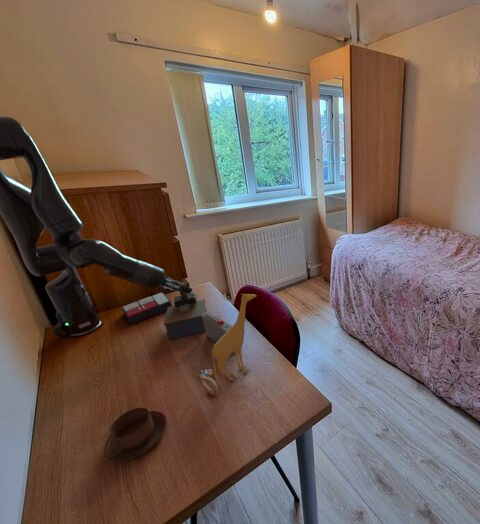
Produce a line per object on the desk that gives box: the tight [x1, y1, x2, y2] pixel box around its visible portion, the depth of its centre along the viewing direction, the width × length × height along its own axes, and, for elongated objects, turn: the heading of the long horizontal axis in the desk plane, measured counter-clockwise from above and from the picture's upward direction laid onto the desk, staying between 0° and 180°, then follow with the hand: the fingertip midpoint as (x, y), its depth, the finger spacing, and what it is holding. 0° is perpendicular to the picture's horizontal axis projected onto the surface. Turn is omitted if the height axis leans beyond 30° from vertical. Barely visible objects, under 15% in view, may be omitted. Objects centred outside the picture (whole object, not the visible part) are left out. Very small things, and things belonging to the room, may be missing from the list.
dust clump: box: [179, 304, 190, 312], centre depth 105 cm, size 3×3×1 cm
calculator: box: [121, 292, 173, 325], centre depth 116 cm, size 11×4×15 cm
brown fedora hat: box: [103, 407, 167, 463], centre depth 66 cm, size 12×12×6 cm
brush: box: [173, 281, 198, 307], centre depth 106 cm, size 4×7×8 cm, turn 115°
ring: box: [196, 368, 221, 396], centre depth 78 cm, size 7×3×8 cm, turn 60°
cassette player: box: [201, 310, 235, 355], centre depth 97 cm, size 16×3×10 cm, turn 53°
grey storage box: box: [163, 299, 208, 340], centre depth 106 cm, size 13×12×7 cm
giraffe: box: [211, 293, 257, 382], centre depth 82 cm, size 16×4×25 cm, turn 141°
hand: (188, 290), depth 108 cm, fingers closed on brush, 2 cm apart
